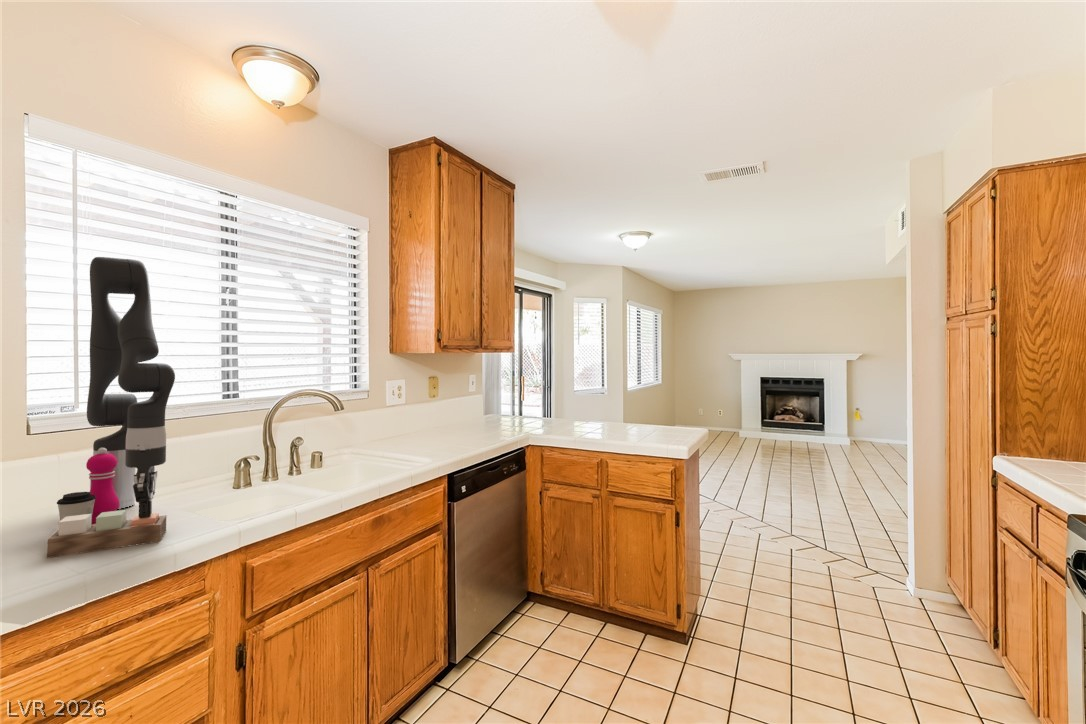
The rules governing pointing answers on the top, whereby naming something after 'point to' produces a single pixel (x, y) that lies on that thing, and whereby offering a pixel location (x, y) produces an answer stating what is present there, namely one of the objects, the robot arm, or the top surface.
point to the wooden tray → (105, 538)
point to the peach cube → (145, 519)
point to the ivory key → (75, 524)
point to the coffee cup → (76, 504)
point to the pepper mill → (102, 483)
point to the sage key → (111, 520)
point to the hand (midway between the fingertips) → (145, 516)
